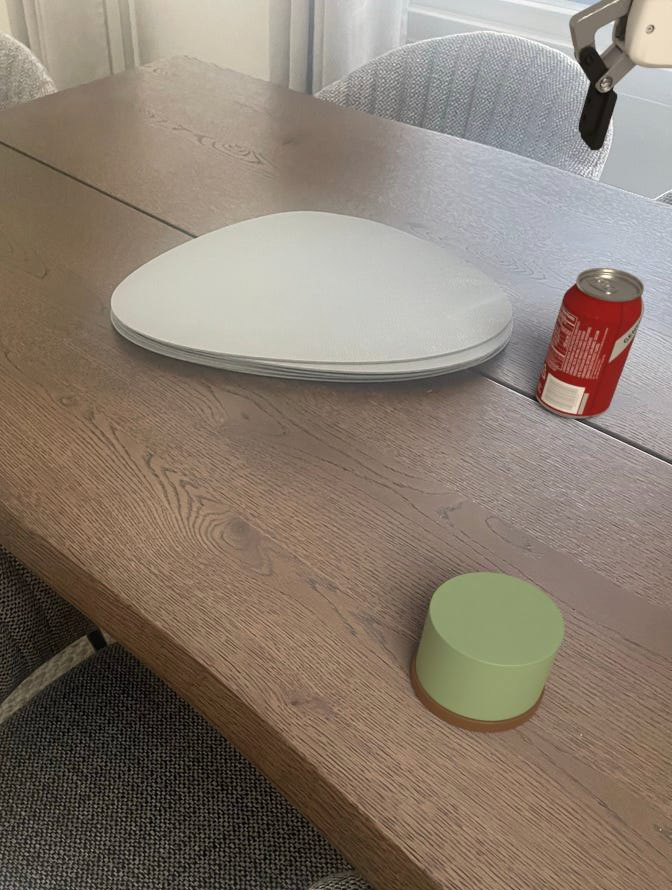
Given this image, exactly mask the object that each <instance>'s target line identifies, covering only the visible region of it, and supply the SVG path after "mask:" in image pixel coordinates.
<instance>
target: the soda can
mask: <svg viewBox="0 0 672 890" xmlns="http://www.w3.org/2000/svg"><path fill="white" fill-rule="evenodd" d="M644 290H645V286H644V283H643V282H642V280H640V279H639V278H638V277H637V276H635V275H633V274H631V273H630V272H626V271H623V270H620V269H616V268H609V267H594V268H588V269H586V270H583V271H581V272H580V273H578V275H577V276H576V280H575V283H574V284H573V285H572V286H570V288H568V289H567V290H566V291H565V292H564V294H563V296H562V300H561V304H560V307H559V310H558V313H557V318H556V320H555V324H554V327H553V332H552V334H551V338H550V340H549V344H548V347H547V351H546V354H545V358H544V361H543V365H542V367H541V371H540V375H539V379H538V382H537V385H536V388H535V398H536V399H537V401H538V402H539V404H540V405H542V407H544V408H545V409H547V411H549V412H551V413H553V414H555V415H557V416H559V417H562V418H565V419H573V420H582V419H590V418H596V417H599V416H601V415H603V414H604V413H607V411H608V410H609V408H610V406H611V403H612V401H613V398H614V395H615V392H616V390H617V387H618V385H619V382H620V379H621V377H622V374H623V371H624V368H625V365H626V362H627V360H628V356H629V354H630V353H631V352H630V351H631V349H632V347H633V343H634V340H635V338H636V335H637V332H638V330H639V326H640V325H641V321H642V318H643V316H644V313H645V309H646V308H645V302H644V300H643V297H642V295H643V293H644Z"/></svg>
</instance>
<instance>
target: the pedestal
mask: <svg viewBox="0 0 672 890" xmlns="http://www.w3.org/2000/svg"><path fill="white" fill-rule="evenodd" d="M565 627H566V626H565V622H564V618H563V614H562V612H561V611H560V609H559V607H558V606H557V604H556V603H555V601H553V600H552V599H551V597H550V596H548V595H547V594H546V593H545V592H543V590H541V589H540V588H538V587H537V586H535V585H533V584H532V583H530V582H528V581H525V580H524V579H522V578H518V577H516V576H512V575H509V574H505V573H500V572H493V571H476V572H475V571H474V572H467V573H463V574H459V575H456V576H453V577H451V578H449V579H447V580H446V581H445V582H443V583H441V584H440V586H438V587H437V589H436V590H435V591H434V592H433V594H432V596H431V599H430V602H429V605H428V609H427V612H426V618H425V621H424V625H423V628H422V633H421V636H420V641H419V645H418V646H417V648H416V649H415V652H414V654H413V657H412V662H411V665H410V670H409V671H410V672H409V673H410V675H409V677H410V683H411V686H412V689H413V691H414V693H415V695H416V697H417V698H418V700H419V701H420V703H421V704H422V705H423V706H424V707H425V708H426V709H427V710H428V711H429V712H430V713H431V714H433V715H434V716H436V717H437V718H439V719H440V720H442V721H444V723H445V722H446V723H447V724H449V725H451V726H454V727H457V728H460V729H462V730H465V731H470V732H478V733H501V732H506V731H510V730H513V729H516V728H518V727H519V726H522V725H523V724H525V723H527V722H528V721H529V720H530V719H531V718H532V717H533V716H535V714H536V713H537V711H538V709H539V707H540V706H541V703H542V700H543V698H544V695H545V691H546V682H547V680H548V677H549V675H550V672H551V670H552V667H553V665H554V663H555V660H556V658H557V655H558V652H559V650H560V647H561V645H562V643H563V642H564V641H563V640H564V637H565V629H566V628H565Z"/></svg>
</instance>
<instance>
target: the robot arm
mask: <svg viewBox="0 0 672 890" xmlns="http://www.w3.org/2000/svg"><path fill="white" fill-rule="evenodd" d="M612 22H614V23H613V27H612V32H611V41H612V43H611V44H610V45H609V46H608V47H607V48H606V49H605V50H604V51H603V52H602V53H601V54H599V52H598V51H597V48H596V38H595V36H596V33H597V32H598V30H600V29H601V28H603V27H605V26H607V25H608V24H611V23H612ZM568 26H569V31H570V32H569V33H570V38H571V43H572V47H573V56H574V58H575V60H576V61H577V63H578V65H579V67H580V68H581V70H582V72H583V73H584V75H585V78H586V79H587V80H588V81H589V85H588V88H587V92H586V96H585V99H584V102H583V106H582V110H581V112H580V116H579V121H578V125H577V126H578V127H577V129H578V132H579V133H580V138H581V140H582V141H583V143H585V145H586V147H588V148H589V150H591V151H600V149H602V148H603V146H604V144H605V140H606V137H607V134H608V130H609V127H610V124H611V121H612V116H613V113H614V110H615V107H616V104H617V100H618V93H617V92H615V90H614V88H615V86H616V85H617V84H618V83H619V82H620V81H621V80H622V79H623V78H625V76H626V75H628V74H629V73H630V72H631V71H632V70H633V69H634V68H635V67H636V66H639V67H641V68H646V69H672V0H600V1H598V2H596V3H593V4H592V5H590V6H588V7H585V8H584V9H582V10H580V11H579V12H577V13H575V14H573V15H572V16H571V17H570V19H569V22H568Z"/></svg>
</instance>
